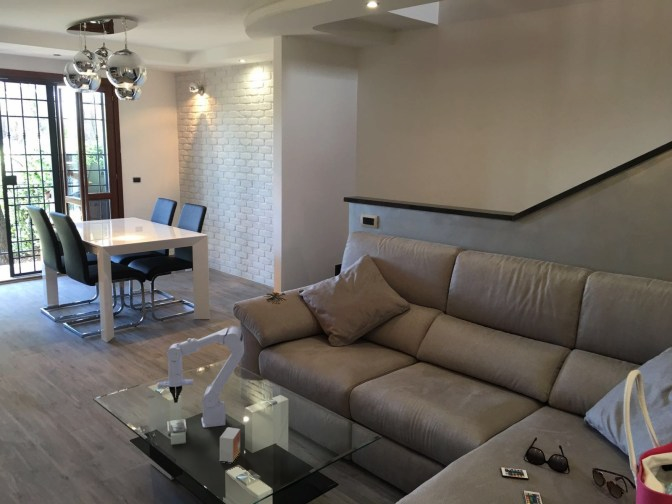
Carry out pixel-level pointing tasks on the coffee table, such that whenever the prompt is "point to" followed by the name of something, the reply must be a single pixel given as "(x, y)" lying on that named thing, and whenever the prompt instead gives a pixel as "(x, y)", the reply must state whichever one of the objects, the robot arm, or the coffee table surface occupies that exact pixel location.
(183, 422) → the sliding jaw
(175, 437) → the vise frame
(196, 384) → the coffee table surface
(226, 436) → the small box
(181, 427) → the steel block
